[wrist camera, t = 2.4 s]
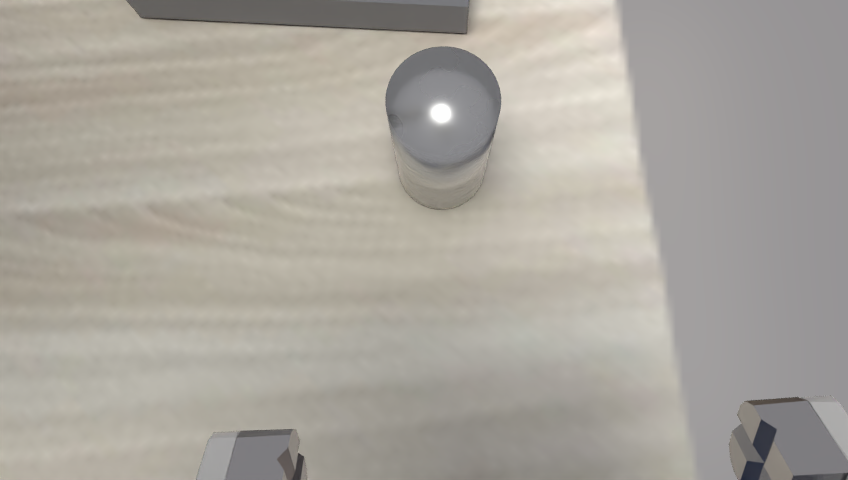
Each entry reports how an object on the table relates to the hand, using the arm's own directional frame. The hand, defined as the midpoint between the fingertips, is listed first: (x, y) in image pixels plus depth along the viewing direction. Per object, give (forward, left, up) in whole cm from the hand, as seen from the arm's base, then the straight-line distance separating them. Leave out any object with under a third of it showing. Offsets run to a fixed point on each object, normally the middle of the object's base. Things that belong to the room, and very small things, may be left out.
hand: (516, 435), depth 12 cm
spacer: (-2, +12, -24) cm, 27 cm away
